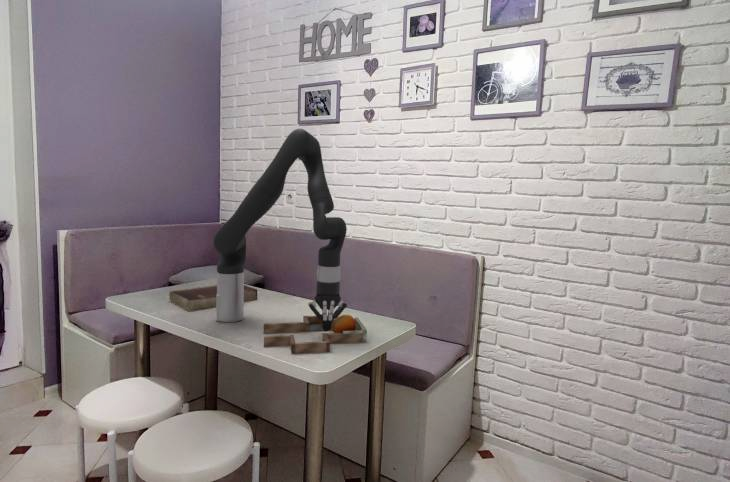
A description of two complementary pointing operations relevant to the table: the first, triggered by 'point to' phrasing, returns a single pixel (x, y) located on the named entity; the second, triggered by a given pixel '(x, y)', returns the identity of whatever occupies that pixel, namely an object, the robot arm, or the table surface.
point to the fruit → (344, 324)
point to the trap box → (308, 326)
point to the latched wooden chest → (204, 297)
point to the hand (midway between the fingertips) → (326, 330)
